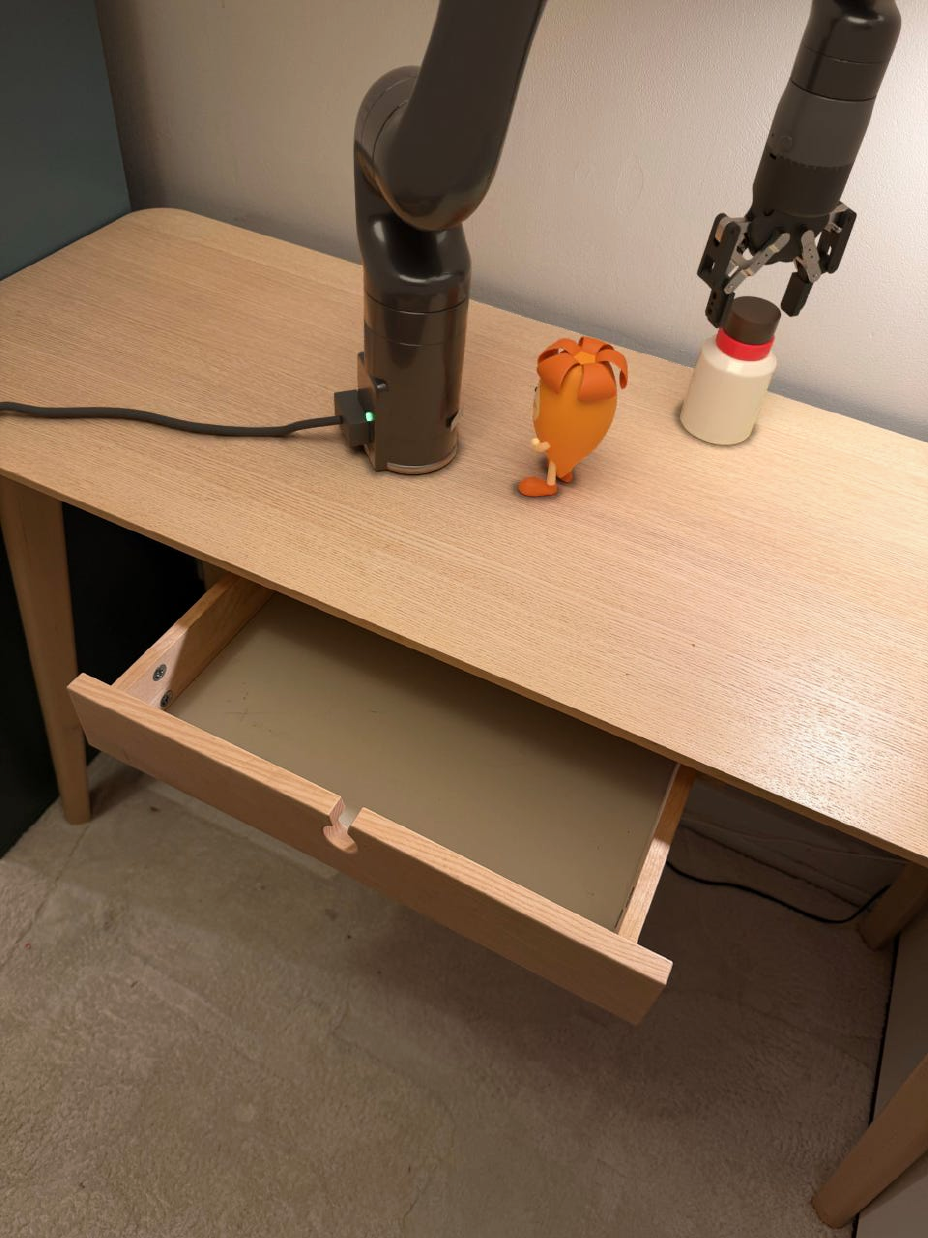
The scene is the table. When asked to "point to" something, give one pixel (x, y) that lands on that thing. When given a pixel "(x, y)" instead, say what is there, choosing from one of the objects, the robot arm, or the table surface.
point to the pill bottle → (727, 389)
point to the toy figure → (572, 406)
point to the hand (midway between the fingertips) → (751, 318)
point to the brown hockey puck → (752, 320)
